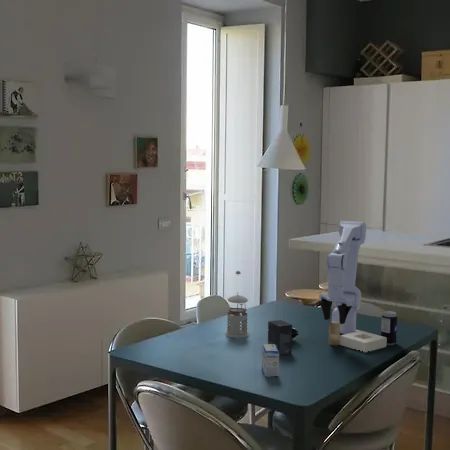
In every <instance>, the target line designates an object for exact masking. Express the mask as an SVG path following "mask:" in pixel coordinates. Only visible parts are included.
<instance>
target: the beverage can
mask: <svg viewBox="0 0 450 450" xmlns="http://www.w3.org/2000/svg"><path fill="white" fill-rule="evenodd" d="M380 323H381V324H380V326H381V327H380V328H381V329H380V336H383V337H386V338H387V343H386V346H394V345H395V344H396V343H397V333H398V332H397V330H398V315H397V312H396V311H393V310H384V311H382V314H381V321H380Z"/></svg>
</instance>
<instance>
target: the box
mask: <svg viewBox="0 0 450 450" xmlns="http://www.w3.org/2000/svg"><path fill="white" fill-rule="evenodd" d="M267 323H268V324H267V326H268V327H267V344H275V345H276V347H277V349H278V351H279V356H280V355H288V354H289V353H290V354H292V351H293V350H292V347H293V344H292V343H293V342H292V341H293V324H292V323H289V322H287V321H284V320H282V319H277V320H268V322H267Z"/></svg>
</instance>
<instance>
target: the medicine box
mask: <svg viewBox="0 0 450 450" xmlns="http://www.w3.org/2000/svg"><path fill="white" fill-rule="evenodd" d="M261 351H262V353H261V355H262V356H261V370H262V374H263V375H264V377H265V376H267V377H266V378H272V377H271V376H278V377H279V368H280V364H279V363H280V355H279V351H278V349H277V347H276V345H275V344H268V343H264V344H262V348H261Z"/></svg>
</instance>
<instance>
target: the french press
mask: <svg viewBox="0 0 450 450" xmlns="http://www.w3.org/2000/svg"><path fill="white" fill-rule="evenodd" d="M241 274H242V273H241V271H239V270H236V271H235V275H241ZM226 300H227V301H228V302H229V303H233V304H237V307H231V308H228V312H227V320H226V321H227V325H226V326H227V327H226V330H227V331H226V332H225V333H224V335H225V336H226V337H229V338H237V339H239V338H240V339H241V338H247V337H249V336H250V333H249V332H248V313H247V311H248V309H247V307H246V303H247V302H248V301H249V299H248V298H247V297H245V296H243V295H239V293H237V294H236V295H235V294H234V295H232V296H229V297H228V298H227V299H226ZM239 305H240V307H239ZM243 305H244V307H243Z"/></svg>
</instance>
